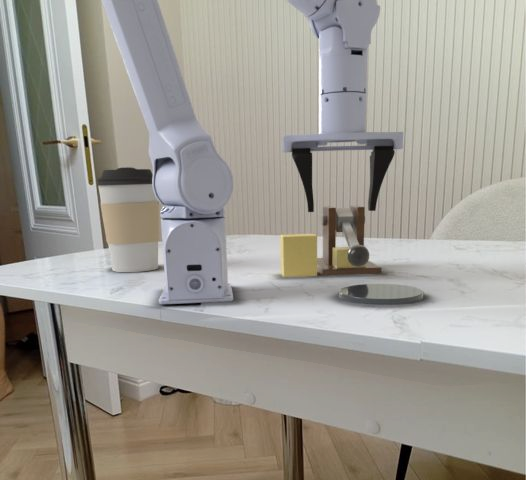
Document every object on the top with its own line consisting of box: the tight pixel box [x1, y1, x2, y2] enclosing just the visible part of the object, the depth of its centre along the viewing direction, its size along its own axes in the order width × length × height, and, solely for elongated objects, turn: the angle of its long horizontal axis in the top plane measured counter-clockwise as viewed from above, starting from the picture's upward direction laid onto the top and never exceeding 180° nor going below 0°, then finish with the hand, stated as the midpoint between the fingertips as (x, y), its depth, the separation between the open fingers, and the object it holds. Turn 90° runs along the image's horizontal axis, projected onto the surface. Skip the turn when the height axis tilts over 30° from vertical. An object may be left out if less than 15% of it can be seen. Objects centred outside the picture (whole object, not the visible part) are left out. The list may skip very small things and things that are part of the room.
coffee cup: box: [96, 166, 160, 273], centre depth 89 cm, size 9×9×15 cm
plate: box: [338, 283, 424, 306], centre depth 64 cm, size 9×9×1 cm
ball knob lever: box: [335, 207, 370, 267], centre depth 79 cm, size 13×3×3 cm, turn 5°
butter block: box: [332, 246, 366, 268], centre depth 81 cm, size 3×4×2 cm
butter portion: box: [280, 233, 318, 278], centre depth 79 cm, size 3×4×6 cm, turn 95°
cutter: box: [317, 205, 382, 277], centre depth 84 cm, size 12×8×9 cm, turn 5°
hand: (341, 211), depth 75 cm, fingers open, 7 cm apart
